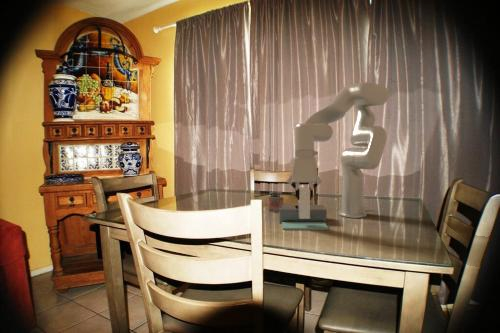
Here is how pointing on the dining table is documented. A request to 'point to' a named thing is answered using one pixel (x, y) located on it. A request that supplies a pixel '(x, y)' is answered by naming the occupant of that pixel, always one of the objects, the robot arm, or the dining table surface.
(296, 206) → the rail
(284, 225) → the mat
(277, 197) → the lighter
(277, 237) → the dining table surface
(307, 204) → the peg
